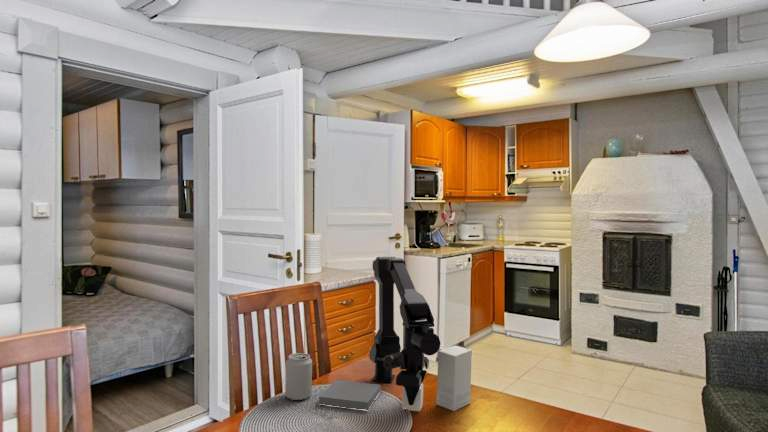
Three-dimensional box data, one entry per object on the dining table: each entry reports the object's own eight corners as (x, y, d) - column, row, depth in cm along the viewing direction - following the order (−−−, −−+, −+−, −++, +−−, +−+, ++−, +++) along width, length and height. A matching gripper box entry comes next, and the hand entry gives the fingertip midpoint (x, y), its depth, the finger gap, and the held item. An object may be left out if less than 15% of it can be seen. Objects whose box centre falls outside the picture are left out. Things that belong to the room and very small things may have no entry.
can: (305, 403, 130) (306, 360, 130) (280, 400, 131) (281, 358, 131) (314, 393, 137) (316, 352, 137) (291, 391, 138) (292, 350, 138)
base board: (336, 387, 142) (336, 379, 142) (380, 393, 138) (380, 384, 138) (318, 405, 128) (319, 396, 128) (367, 411, 125) (367, 402, 125)
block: (405, 402, 132) (405, 381, 132) (422, 404, 131) (423, 383, 131) (401, 409, 127) (402, 387, 127) (419, 411, 126) (420, 389, 126)
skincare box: (453, 397, 137) (454, 344, 137) (472, 404, 132) (473, 349, 132) (435, 405, 131) (436, 349, 131) (454, 412, 126) (455, 355, 126)
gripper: (393, 334, 140) (391, 386, 140) (377, 351, 122) (376, 411, 122) (429, 337, 137) (428, 390, 137) (419, 355, 119) (418, 416, 119)
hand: (412, 401), depth 129 cm, fingers closed on block, 5 cm apart
